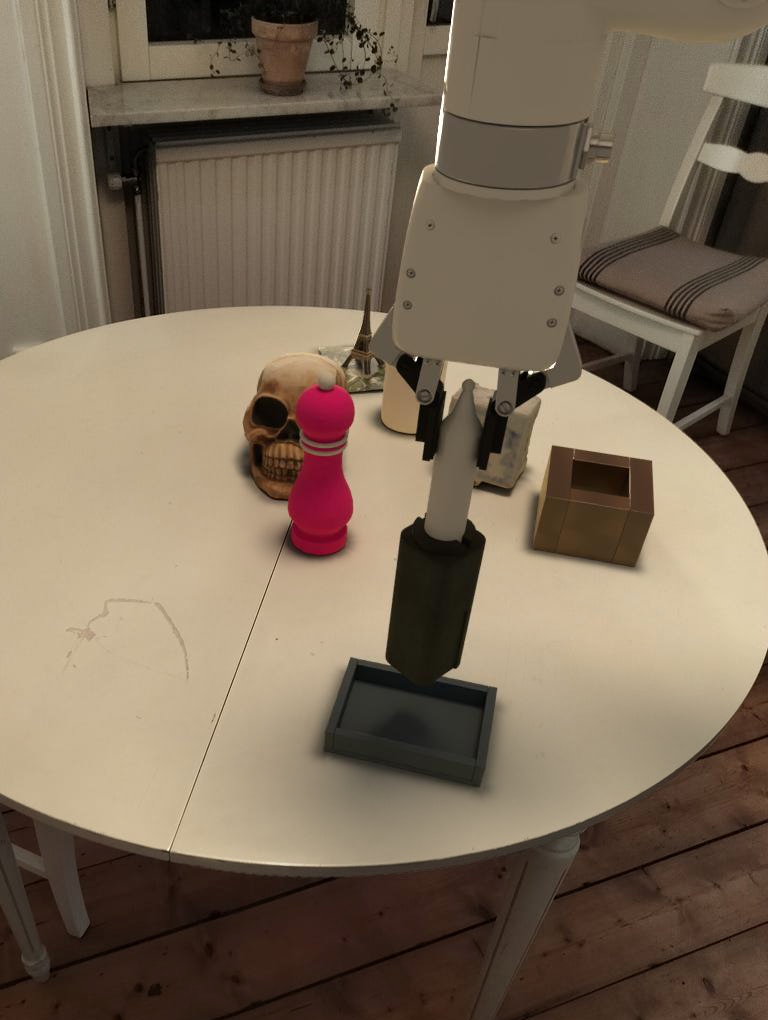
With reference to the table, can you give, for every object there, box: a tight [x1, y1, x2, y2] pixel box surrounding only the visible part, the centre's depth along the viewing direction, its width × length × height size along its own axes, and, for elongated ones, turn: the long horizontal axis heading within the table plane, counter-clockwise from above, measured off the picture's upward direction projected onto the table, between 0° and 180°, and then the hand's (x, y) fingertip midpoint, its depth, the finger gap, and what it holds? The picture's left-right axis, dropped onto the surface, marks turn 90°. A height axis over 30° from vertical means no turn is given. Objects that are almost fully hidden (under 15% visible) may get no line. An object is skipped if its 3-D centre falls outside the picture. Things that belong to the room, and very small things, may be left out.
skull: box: [242, 351, 350, 500], centre depth 107 cm, size 16×17×13 cm
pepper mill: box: [287, 372, 356, 556], centre depth 91 cm, size 7×7×20 cm
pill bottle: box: [380, 358, 449, 434], centre depth 113 cm, size 8×8×15 cm
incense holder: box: [447, 381, 542, 489], centre depth 105 cm, size 10×8×10 cm
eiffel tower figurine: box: [318, 279, 386, 393], centre depth 124 cm, size 15×10×13 cm
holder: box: [531, 444, 655, 568], centre depth 97 cm, size 11×11×7 cm
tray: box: [323, 656, 498, 788], centre depth 76 cm, size 14×10×2 cm
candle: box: [384, 378, 487, 686], centre depth 63 cm, size 5×5×25 cm
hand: (457, 453), depth 58 cm, fingers closed on candle, 3 cm apart
